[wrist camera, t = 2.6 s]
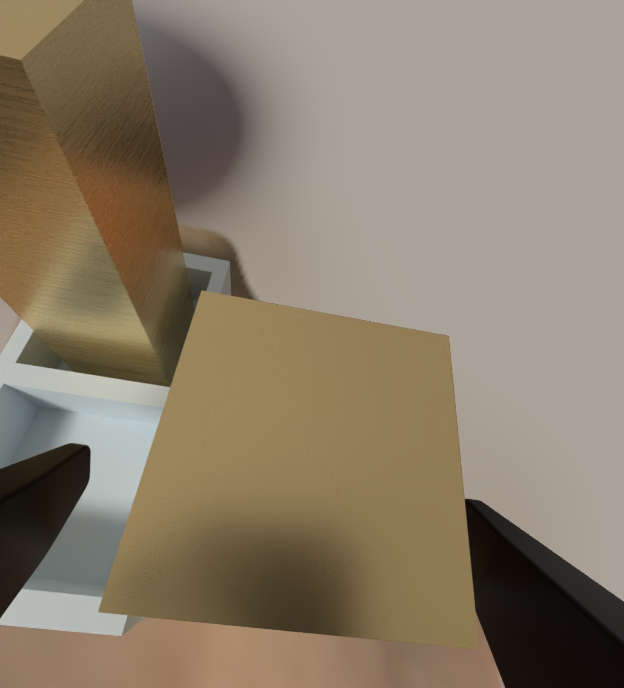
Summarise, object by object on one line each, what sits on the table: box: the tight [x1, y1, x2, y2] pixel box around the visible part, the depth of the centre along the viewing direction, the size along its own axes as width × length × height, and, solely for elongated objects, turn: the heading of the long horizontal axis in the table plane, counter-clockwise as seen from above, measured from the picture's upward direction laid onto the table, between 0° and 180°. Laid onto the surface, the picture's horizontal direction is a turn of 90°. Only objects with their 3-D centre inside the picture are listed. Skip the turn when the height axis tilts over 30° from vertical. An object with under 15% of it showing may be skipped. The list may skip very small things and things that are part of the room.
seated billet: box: [0, 0, 195, 387], centre depth 11 cm, size 4×4×12 cm
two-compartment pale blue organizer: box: [0, 252, 231, 636], centre depth 15 cm, size 14×7×4 cm, turn 174°
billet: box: [98, 291, 479, 650], centre depth 10 cm, size 4×4×12 cm
